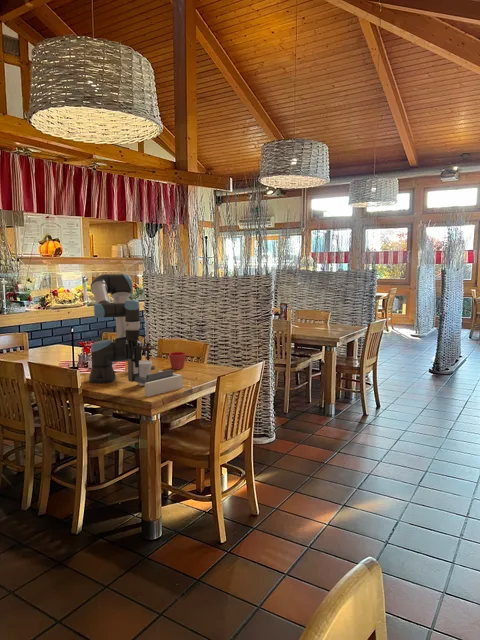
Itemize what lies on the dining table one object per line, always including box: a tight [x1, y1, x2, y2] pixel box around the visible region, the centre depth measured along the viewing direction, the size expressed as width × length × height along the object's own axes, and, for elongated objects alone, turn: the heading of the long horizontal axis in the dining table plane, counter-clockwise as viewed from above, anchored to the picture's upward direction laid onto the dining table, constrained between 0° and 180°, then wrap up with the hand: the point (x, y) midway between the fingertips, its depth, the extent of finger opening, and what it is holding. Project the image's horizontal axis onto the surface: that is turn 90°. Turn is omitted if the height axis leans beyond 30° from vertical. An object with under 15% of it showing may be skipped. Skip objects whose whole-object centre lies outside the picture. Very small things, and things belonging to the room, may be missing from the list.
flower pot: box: [168, 351, 187, 370], centre depth 313 cm, size 11×11×10 cm
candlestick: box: [142, 315, 157, 371], centre depth 309 cm, size 11×11×35 cm
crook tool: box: [127, 358, 174, 384], centre depth 257 cm, size 14×20×12 cm
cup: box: [136, 359, 153, 387], centre depth 267 cm, size 10×10×13 cm
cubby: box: [144, 370, 184, 398], centre depth 258 cm, size 19×24×7 cm
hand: (133, 372), depth 254 cm, fingers closed on crook tool, 3 cm apart
